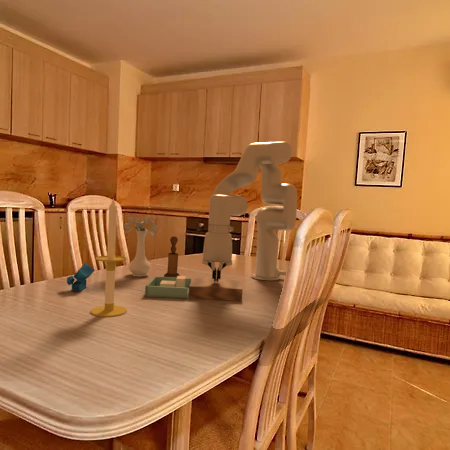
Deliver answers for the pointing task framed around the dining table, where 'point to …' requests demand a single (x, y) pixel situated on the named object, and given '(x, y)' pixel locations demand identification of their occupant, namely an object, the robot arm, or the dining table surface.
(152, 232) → the flower vase
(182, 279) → the tile
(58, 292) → the dining table surface
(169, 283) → the tile
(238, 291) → the board
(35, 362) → the dining table surface
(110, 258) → the candle
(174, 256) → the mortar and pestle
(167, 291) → the tray
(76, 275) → the crystal
